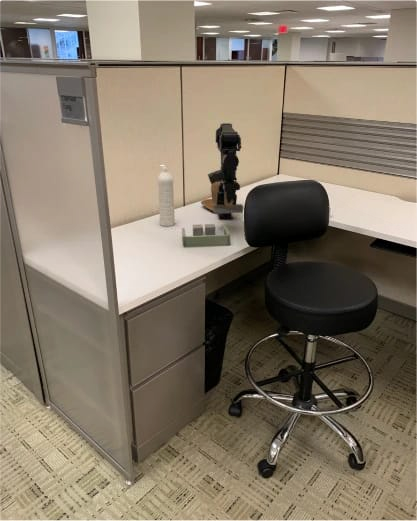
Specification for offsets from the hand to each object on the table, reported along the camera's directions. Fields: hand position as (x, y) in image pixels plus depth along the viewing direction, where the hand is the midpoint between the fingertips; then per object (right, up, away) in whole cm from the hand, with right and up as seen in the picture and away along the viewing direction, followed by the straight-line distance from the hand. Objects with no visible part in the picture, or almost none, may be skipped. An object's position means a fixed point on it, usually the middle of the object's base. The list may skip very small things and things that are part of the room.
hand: (228, 201), depth 172 cm
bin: (-9, -17, -9) cm, 21 cm away
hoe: (0, -4, +2) cm, 5 cm away
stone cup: (-4, +1, +29) cm, 30 cm away
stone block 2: (-8, -14, -2) cm, 16 cm away
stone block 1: (-13, -14, -3) cm, 19 cm away
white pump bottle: (-27, -8, +11) cm, 30 cm away
